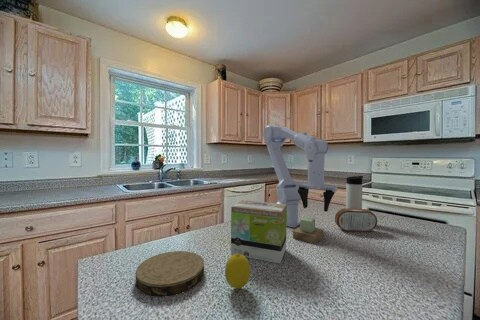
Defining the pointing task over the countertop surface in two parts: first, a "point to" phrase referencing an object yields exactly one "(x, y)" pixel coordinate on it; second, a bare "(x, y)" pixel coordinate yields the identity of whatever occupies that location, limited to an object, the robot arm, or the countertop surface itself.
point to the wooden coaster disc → (169, 273)
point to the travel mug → (354, 192)
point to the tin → (356, 220)
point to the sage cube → (307, 224)
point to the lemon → (237, 271)
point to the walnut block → (308, 235)
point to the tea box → (259, 230)
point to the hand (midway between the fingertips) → (315, 209)
